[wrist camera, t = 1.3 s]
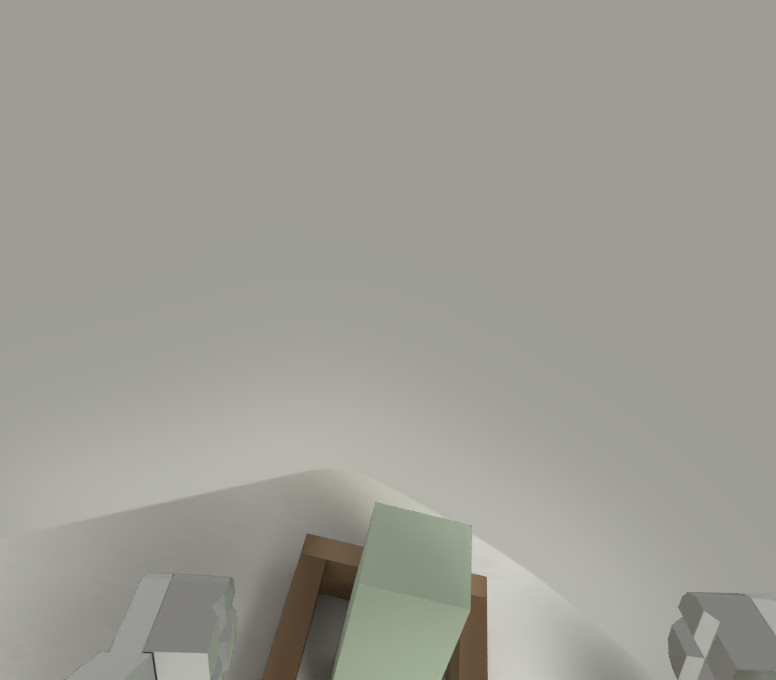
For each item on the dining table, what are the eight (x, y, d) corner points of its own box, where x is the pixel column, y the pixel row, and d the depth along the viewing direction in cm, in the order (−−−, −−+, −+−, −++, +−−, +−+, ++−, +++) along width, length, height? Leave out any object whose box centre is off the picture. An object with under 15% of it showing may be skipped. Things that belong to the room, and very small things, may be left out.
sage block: (316, 741, 31) (359, 583, 25) (334, 657, 35) (375, 502, 29) (406, 763, 31) (470, 610, 25) (414, 676, 35) (471, 525, 29)
